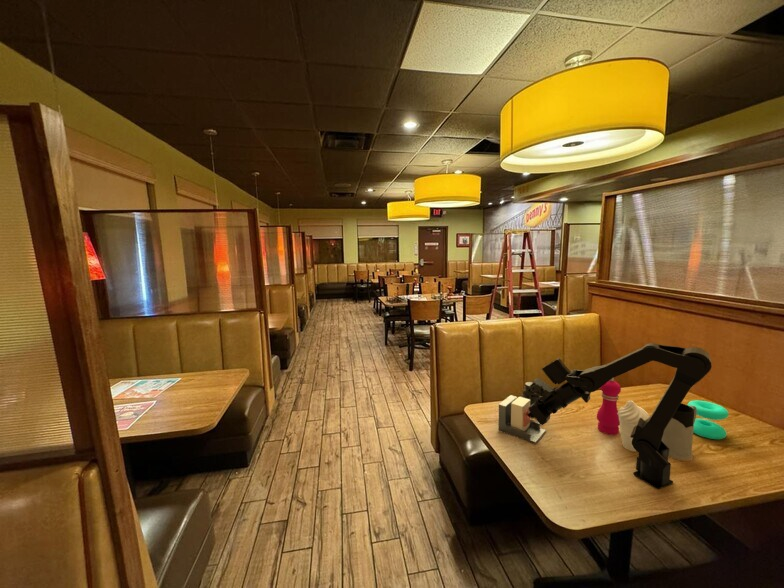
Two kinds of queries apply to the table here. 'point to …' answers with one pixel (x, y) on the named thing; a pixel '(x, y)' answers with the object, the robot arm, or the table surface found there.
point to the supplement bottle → (529, 393)
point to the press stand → (529, 434)
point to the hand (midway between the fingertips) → (528, 415)
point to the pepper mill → (609, 408)
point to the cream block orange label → (520, 413)
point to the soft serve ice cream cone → (630, 422)
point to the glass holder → (680, 433)
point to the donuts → (706, 426)
